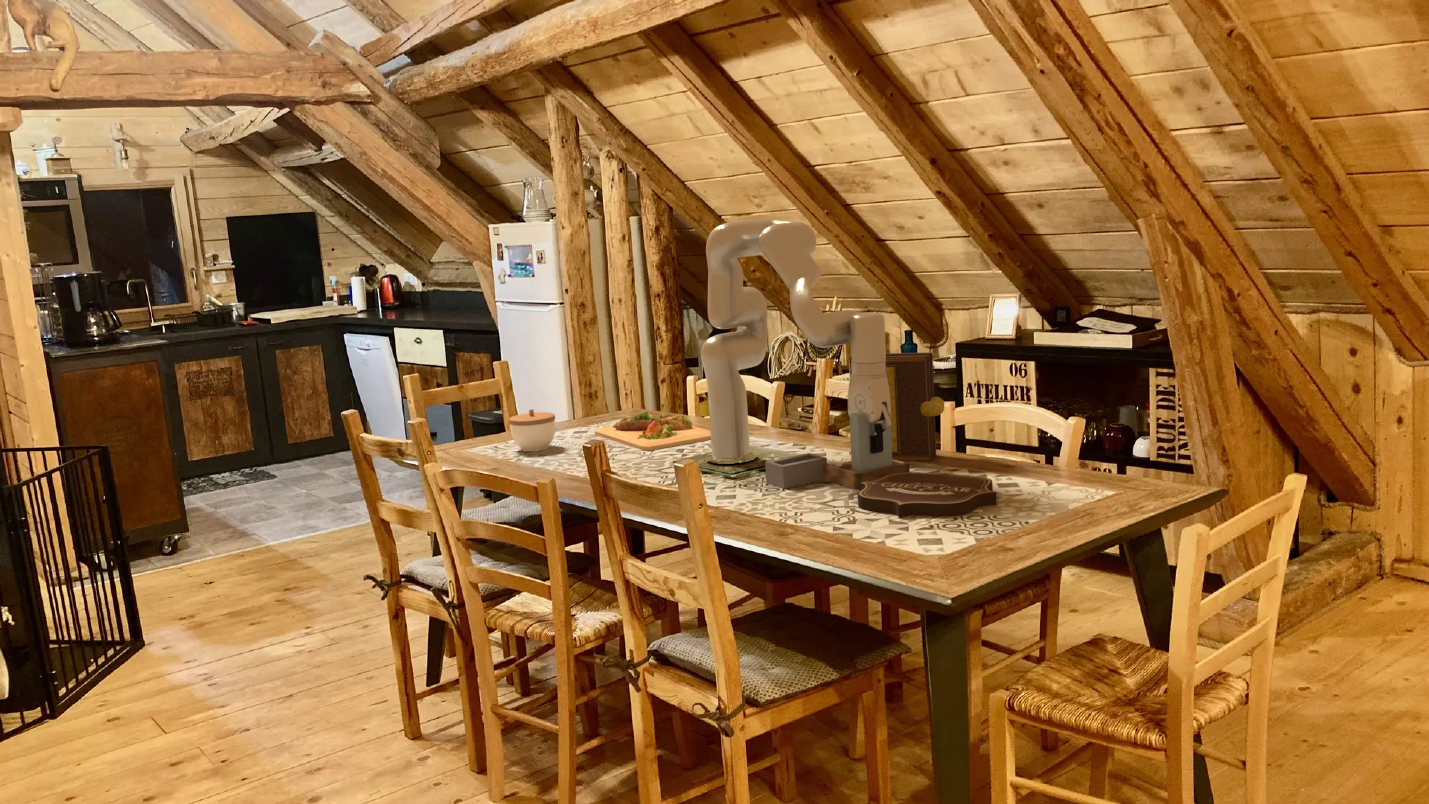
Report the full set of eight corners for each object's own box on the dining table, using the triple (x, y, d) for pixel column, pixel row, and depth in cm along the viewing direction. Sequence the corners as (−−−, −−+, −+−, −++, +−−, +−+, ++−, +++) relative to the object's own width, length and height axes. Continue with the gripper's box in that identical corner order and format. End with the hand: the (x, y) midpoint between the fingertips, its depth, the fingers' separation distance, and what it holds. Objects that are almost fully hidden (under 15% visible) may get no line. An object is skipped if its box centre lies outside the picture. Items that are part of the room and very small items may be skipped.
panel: (852, 475, 258) (849, 414, 255) (884, 468, 262) (881, 407, 259) (860, 478, 255) (857, 415, 252) (892, 471, 259) (890, 409, 257)
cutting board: (722, 439, 319) (720, 412, 318) (646, 453, 308) (643, 425, 307) (663, 423, 349) (661, 398, 348) (592, 435, 338) (589, 410, 337)
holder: (766, 483, 264) (765, 461, 263) (809, 474, 270) (808, 453, 269) (784, 488, 258) (782, 466, 257) (828, 479, 263) (826, 457, 263)
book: (851, 461, 280) (846, 358, 275) (858, 453, 288) (853, 353, 283) (943, 462, 272) (939, 356, 268) (948, 454, 280) (944, 351, 276)
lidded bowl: (567, 445, 323) (563, 406, 321) (536, 455, 313) (532, 414, 311) (533, 442, 330) (529, 404, 328) (502, 452, 320) (498, 412, 318)
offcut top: (842, 472, 262) (842, 462, 261) (864, 466, 266) (863, 457, 266) (857, 475, 258) (857, 465, 258) (879, 468, 263) (879, 459, 263)
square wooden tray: (823, 480, 263) (822, 465, 262) (874, 469, 270) (873, 454, 269) (858, 490, 252) (857, 474, 251) (909, 478, 259) (909, 463, 258)
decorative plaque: (828, 500, 235) (885, 466, 261) (829, 514, 236) (885, 479, 261) (972, 511, 220) (1017, 474, 245) (973, 526, 220) (1018, 488, 246)
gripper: (832, 367, 259) (836, 447, 263) (878, 375, 245) (881, 460, 249) (859, 363, 263) (862, 442, 266) (906, 370, 249) (908, 454, 252)
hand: (871, 450), depth 258 cm, fingers closed on panel, 3 cm apart
